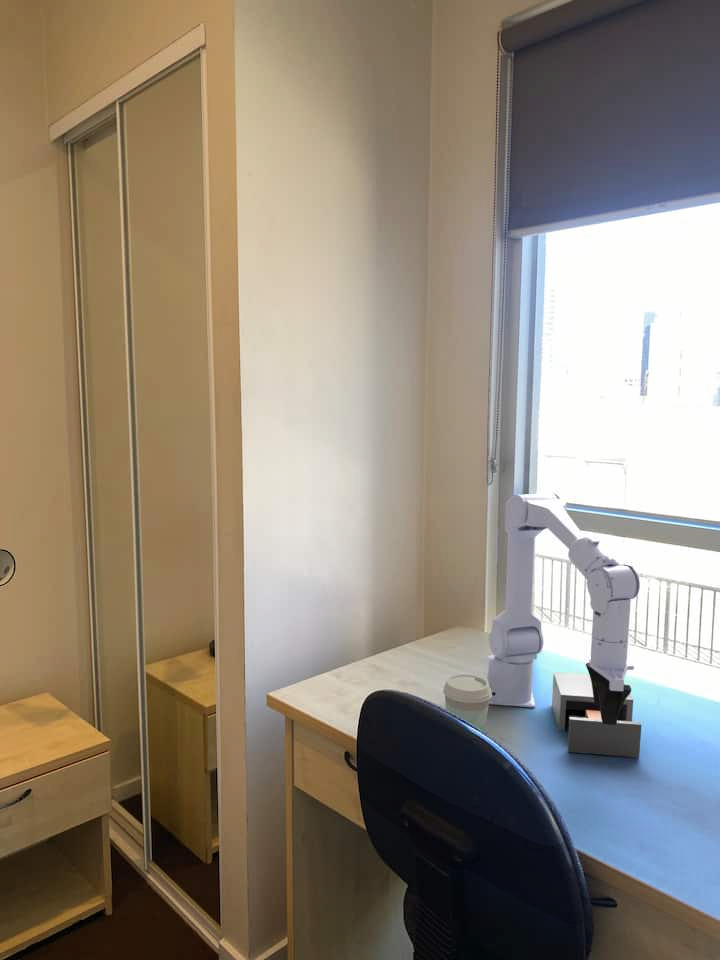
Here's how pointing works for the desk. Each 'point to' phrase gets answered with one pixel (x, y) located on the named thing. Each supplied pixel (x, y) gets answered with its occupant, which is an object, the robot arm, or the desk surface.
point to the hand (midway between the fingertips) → (605, 714)
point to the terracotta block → (593, 714)
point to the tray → (603, 737)
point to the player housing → (579, 697)
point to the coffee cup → (468, 698)
